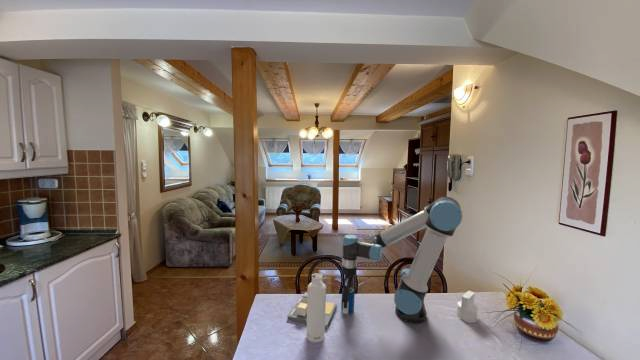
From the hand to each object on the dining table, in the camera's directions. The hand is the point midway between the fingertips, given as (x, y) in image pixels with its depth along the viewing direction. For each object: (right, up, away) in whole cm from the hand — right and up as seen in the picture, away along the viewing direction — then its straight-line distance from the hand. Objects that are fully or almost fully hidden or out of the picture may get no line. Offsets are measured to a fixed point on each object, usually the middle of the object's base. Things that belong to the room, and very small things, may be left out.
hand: (347, 307), depth 134 cm
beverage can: (0, -2, 0) cm, 3 cm away
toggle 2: (-21, +1, +4) cm, 21 cm away
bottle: (-16, -4, -19) cm, 25 cm away
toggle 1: (-23, 0, -6) cm, 24 cm away
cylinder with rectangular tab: (+60, -4, -1) cm, 61 cm away
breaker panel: (-18, -2, -2) cm, 18 cm away
